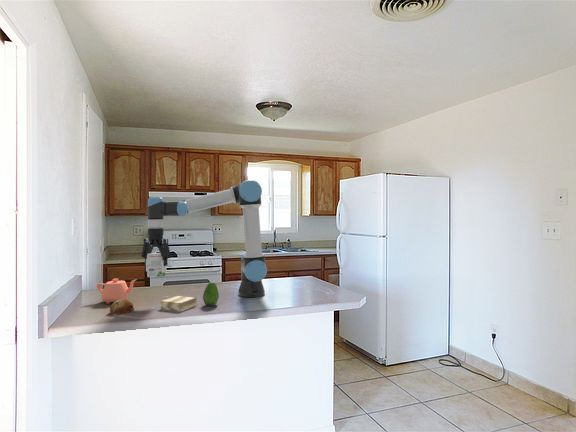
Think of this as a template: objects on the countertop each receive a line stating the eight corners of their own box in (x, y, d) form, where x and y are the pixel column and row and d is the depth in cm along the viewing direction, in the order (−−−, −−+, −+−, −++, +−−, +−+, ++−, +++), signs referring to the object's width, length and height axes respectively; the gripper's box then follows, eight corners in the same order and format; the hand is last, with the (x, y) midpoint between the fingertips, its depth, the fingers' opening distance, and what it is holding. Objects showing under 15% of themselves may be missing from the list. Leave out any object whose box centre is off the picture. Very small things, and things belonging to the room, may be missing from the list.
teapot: (134, 303, 198) (134, 280, 198) (92, 305, 194) (92, 281, 194) (139, 298, 211) (139, 276, 211) (100, 299, 208) (100, 277, 207)
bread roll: (118, 316, 187) (111, 302, 187) (138, 307, 188) (131, 292, 187) (111, 322, 177) (103, 307, 177) (132, 312, 178) (124, 297, 178)
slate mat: (198, 305, 194) (198, 304, 194) (178, 313, 180) (178, 312, 180) (169, 302, 201) (169, 301, 201) (148, 309, 186) (148, 308, 186)
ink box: (165, 274, 199) (164, 252, 199) (165, 276, 195) (164, 253, 194) (147, 275, 197) (147, 252, 196) (147, 277, 192) (146, 253, 192)
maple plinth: (196, 305, 193) (196, 297, 192) (181, 311, 181) (181, 303, 181) (176, 303, 197) (176, 295, 197) (160, 309, 186) (160, 300, 186)
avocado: (219, 307, 191) (219, 283, 191) (203, 308, 189) (203, 284, 189) (217, 303, 199) (217, 280, 199) (202, 304, 197) (202, 281, 197)
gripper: (178, 227, 195) (178, 271, 195) (144, 227, 203) (144, 269, 203) (168, 228, 188) (168, 274, 188) (133, 227, 196) (134, 271, 196)
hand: (156, 271), depth 196 cm, fingers closed on ink box, 9 cm apart
